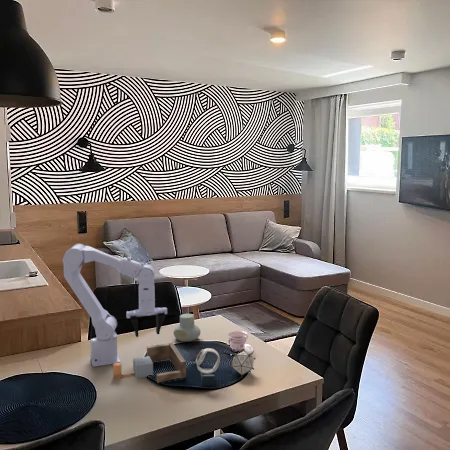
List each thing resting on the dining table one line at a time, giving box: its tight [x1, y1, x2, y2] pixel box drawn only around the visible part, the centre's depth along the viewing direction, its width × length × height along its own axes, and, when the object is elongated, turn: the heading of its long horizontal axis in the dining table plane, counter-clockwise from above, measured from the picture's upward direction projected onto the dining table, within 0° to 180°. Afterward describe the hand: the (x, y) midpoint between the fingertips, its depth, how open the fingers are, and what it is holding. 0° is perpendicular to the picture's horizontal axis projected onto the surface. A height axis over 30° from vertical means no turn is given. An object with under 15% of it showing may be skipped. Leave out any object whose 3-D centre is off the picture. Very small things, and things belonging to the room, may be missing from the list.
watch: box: [195, 347, 221, 386], centre depth 154 cm, size 6×8×11 cm
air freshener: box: [173, 313, 201, 343], centre depth 191 cm, size 11×8×10 cm
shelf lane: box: [146, 342, 187, 384], centre depth 163 cm, size 10×17×6 cm, turn 21°
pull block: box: [112, 355, 154, 380], centre depth 159 cm, size 13×6×4 cm, turn 111°
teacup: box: [227, 330, 254, 356], centre depth 180 cm, size 12×12×6 cm
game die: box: [229, 349, 256, 378], centre depth 160 cm, size 9×8×10 cm
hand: (147, 334), depth 171 cm, fingers open, 7 cm apart
